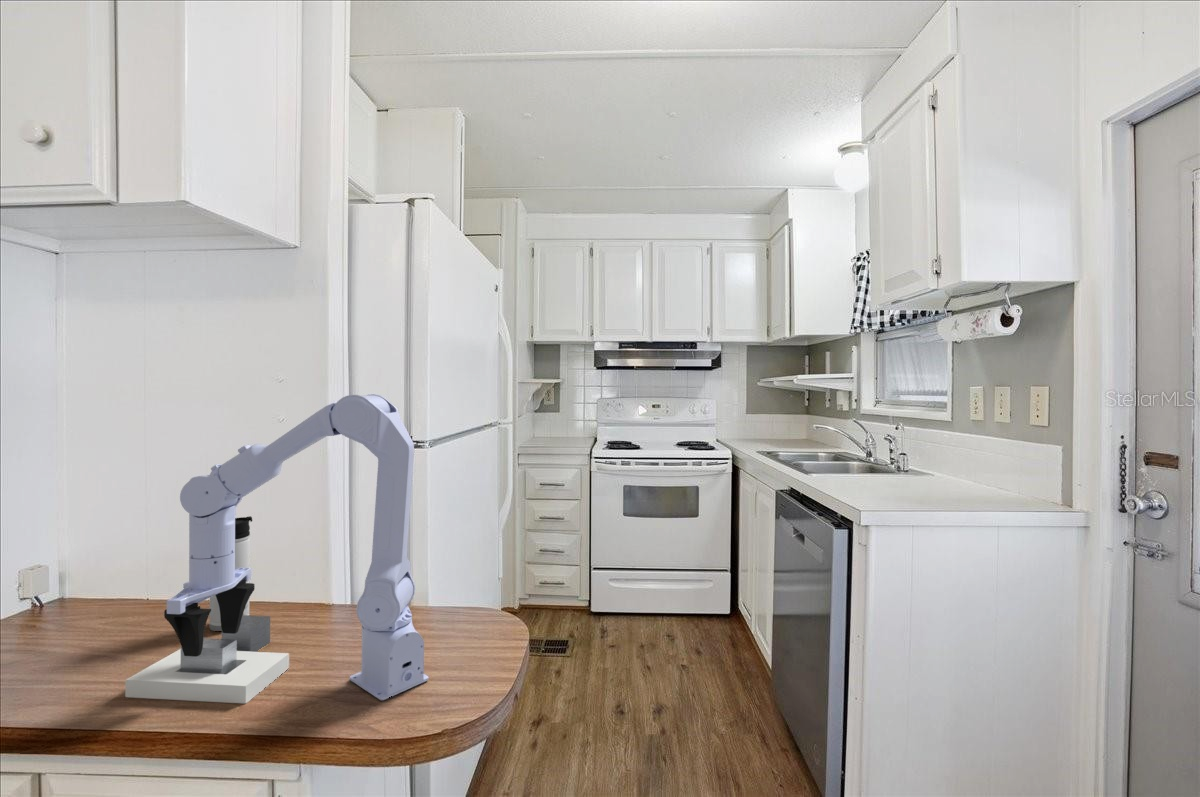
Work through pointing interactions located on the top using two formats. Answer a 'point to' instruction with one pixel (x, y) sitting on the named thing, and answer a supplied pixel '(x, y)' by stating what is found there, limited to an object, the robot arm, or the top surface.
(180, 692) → the slot board
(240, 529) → the travel mug
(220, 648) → the blocky grey bit
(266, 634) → the square bit
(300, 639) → the top surface
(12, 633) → the top surface
